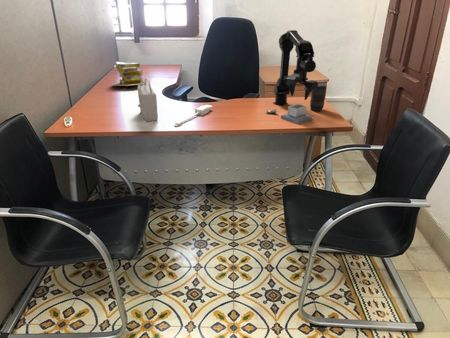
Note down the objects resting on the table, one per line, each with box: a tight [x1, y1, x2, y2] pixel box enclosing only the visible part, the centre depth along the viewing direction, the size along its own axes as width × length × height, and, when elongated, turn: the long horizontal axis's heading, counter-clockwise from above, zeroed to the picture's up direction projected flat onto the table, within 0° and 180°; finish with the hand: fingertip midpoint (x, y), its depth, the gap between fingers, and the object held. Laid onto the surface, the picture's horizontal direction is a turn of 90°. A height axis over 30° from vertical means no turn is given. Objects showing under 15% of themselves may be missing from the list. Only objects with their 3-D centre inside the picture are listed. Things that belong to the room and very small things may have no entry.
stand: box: [280, 112, 313, 125], centre depth 190 cm, size 12×12×2 cm
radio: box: [137, 69, 159, 122], centre depth 187 cm, size 22×8×25 cm, turn 21°
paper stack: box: [111, 61, 148, 89], centre depth 246 cm, size 25×25×17 cm
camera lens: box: [309, 82, 327, 112], centre depth 201 cm, size 8×8×15 cm
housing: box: [287, 103, 308, 118], centre depth 189 cm, size 6×8×5 cm
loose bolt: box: [265, 108, 277, 115], centre depth 197 cm, size 5×3×3 cm, turn 74°
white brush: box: [173, 104, 213, 127], centre depth 191 cm, size 5×32×3 cm, turn 149°
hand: (298, 97), depth 185 cm, fingers open, 9 cm apart
